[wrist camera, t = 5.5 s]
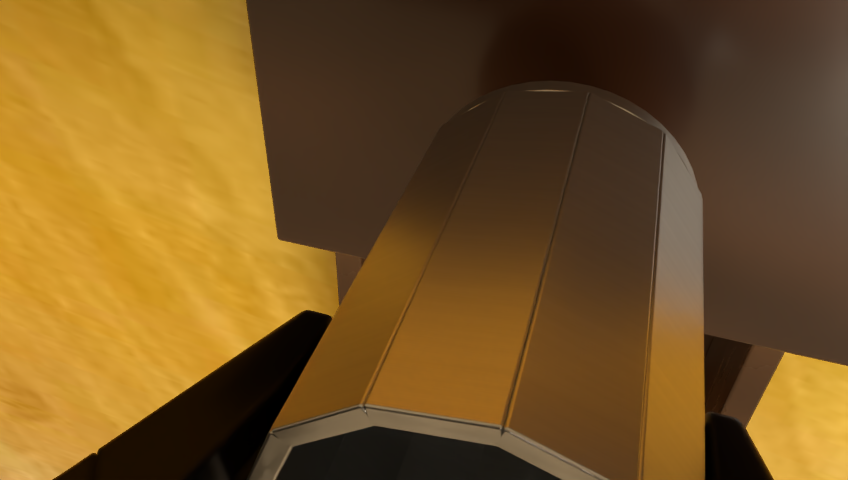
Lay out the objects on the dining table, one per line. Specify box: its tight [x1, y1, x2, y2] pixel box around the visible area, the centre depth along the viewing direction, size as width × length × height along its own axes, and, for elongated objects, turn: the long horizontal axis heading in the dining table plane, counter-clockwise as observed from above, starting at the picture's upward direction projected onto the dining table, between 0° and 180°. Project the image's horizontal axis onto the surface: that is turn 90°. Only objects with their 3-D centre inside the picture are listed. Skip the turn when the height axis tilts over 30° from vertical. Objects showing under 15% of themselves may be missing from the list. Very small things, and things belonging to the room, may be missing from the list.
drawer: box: [336, 252, 785, 428], centre depth 24 cm, size 17×13×5 cm
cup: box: [247, 81, 705, 480], centre depth 10 cm, size 5×5×7 cm
